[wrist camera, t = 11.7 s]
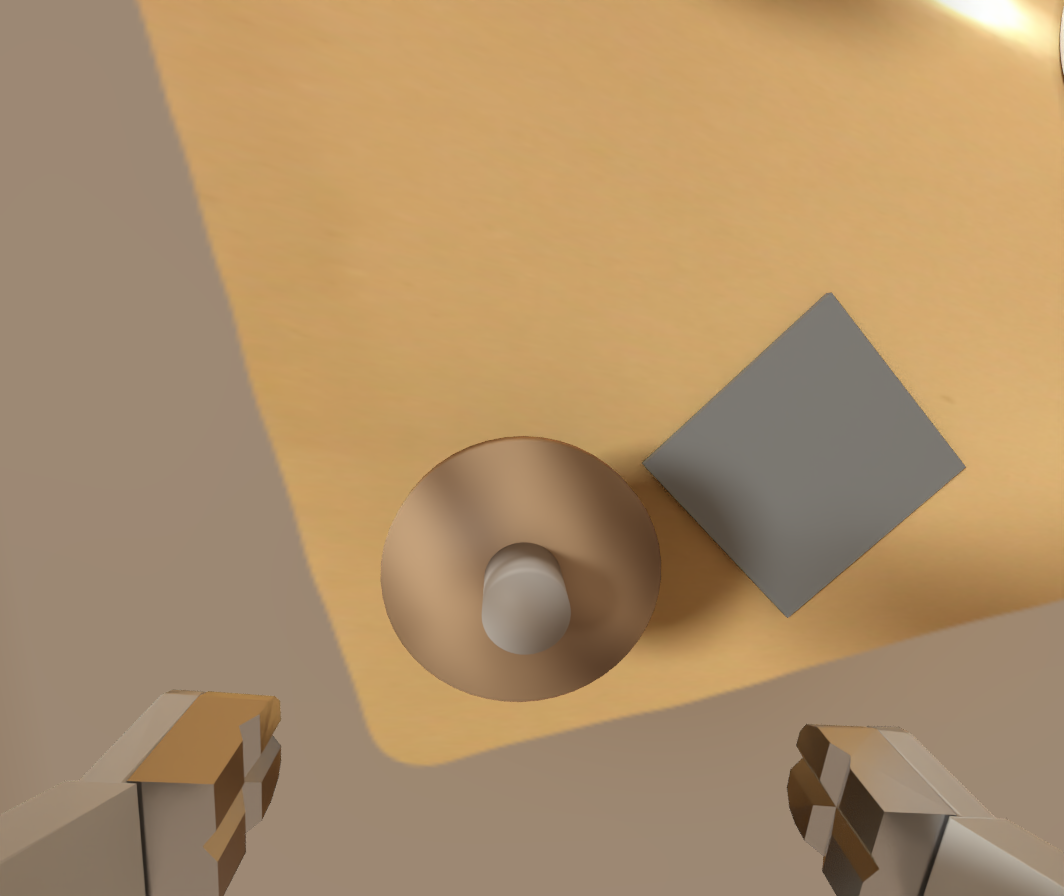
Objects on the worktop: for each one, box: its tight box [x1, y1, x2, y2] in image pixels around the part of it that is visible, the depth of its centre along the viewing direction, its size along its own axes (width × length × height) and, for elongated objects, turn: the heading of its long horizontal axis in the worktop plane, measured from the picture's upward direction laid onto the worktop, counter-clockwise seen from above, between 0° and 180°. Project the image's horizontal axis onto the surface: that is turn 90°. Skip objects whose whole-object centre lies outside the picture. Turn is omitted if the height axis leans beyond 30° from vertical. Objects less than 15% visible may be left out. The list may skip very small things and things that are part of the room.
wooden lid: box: [381, 436, 661, 702], centre depth 23 cm, size 13×13×4 cm
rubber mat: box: [642, 293, 965, 618], centre depth 35 cm, size 16×16×1 cm
